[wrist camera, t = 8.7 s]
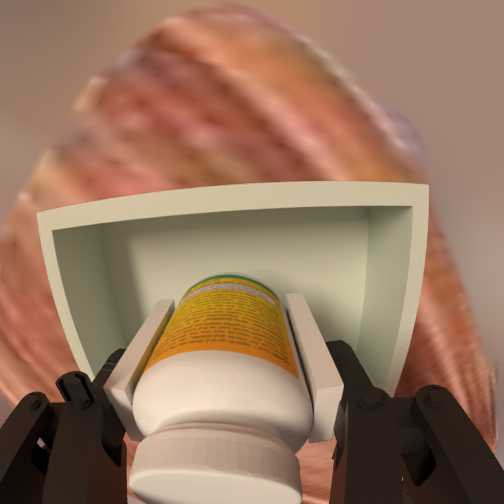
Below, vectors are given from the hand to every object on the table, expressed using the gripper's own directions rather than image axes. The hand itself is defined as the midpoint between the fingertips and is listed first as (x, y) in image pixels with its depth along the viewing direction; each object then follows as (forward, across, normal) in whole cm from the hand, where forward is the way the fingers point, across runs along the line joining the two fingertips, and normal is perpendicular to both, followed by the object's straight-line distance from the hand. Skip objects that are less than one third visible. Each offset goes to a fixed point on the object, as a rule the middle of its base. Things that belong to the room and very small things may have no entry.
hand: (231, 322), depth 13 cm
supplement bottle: (0, 0, 0) cm, 0 cm away
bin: (+5, 0, 0) cm, 5 cm away
